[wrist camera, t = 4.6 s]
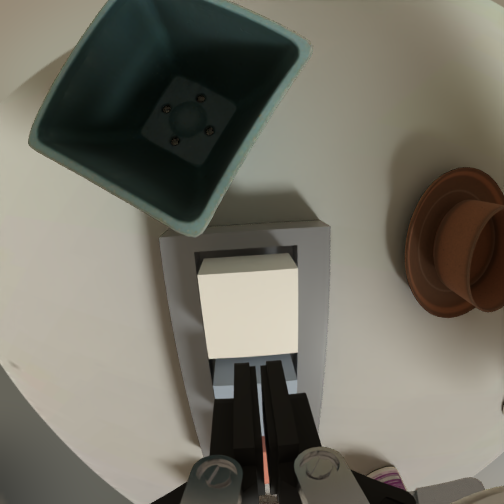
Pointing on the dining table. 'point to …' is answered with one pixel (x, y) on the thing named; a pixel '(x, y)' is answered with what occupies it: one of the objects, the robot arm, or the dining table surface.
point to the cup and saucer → (457, 245)
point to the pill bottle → (388, 477)
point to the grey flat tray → (190, 312)
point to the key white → (249, 305)
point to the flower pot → (168, 102)
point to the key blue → (225, 376)
